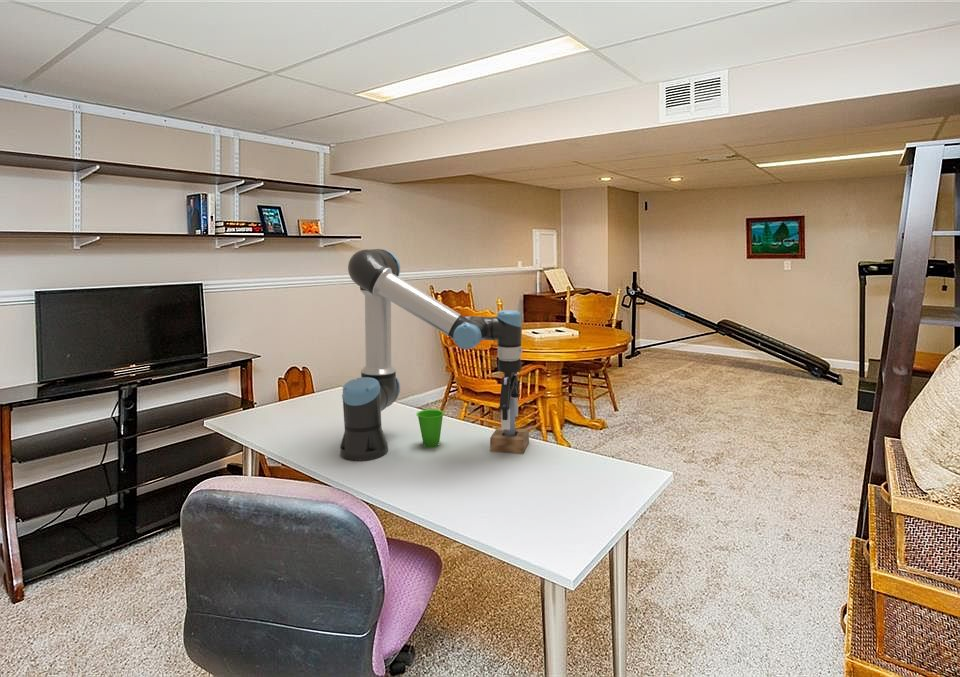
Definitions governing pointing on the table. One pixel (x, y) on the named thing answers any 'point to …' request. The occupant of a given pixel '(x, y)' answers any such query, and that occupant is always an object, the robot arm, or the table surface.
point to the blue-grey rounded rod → (511, 419)
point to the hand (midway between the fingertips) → (509, 422)
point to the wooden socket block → (509, 441)
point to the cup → (430, 426)
